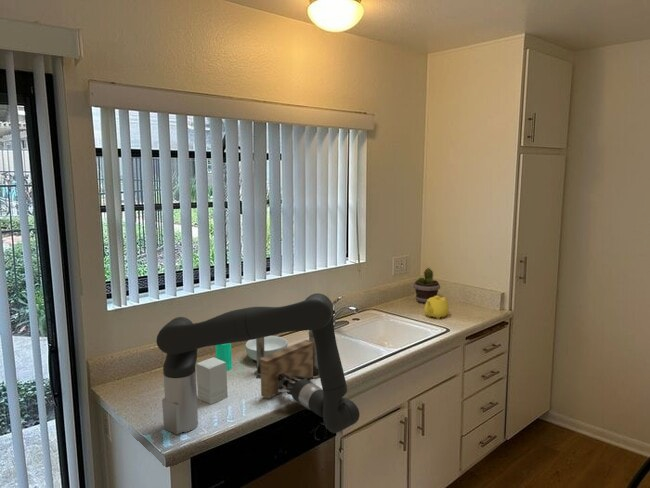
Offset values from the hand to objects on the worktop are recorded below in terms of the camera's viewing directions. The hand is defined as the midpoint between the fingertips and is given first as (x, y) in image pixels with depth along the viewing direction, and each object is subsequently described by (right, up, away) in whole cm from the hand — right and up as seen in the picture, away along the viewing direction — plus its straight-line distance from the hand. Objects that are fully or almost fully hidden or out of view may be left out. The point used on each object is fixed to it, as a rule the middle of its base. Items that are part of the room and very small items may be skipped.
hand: (280, 376), depth 173 cm
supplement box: (-23, -7, -1) cm, 24 cm away
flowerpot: (+72, +12, +114) cm, 135 cm away
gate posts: (+1, -4, +17) cm, 17 cm away
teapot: (+72, +8, +87) cm, 113 cm away
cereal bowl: (-8, -1, +32) cm, 33 cm away
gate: (+2, -5, +6) cm, 8 cm away
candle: (-24, -3, +24) cm, 34 cm away
